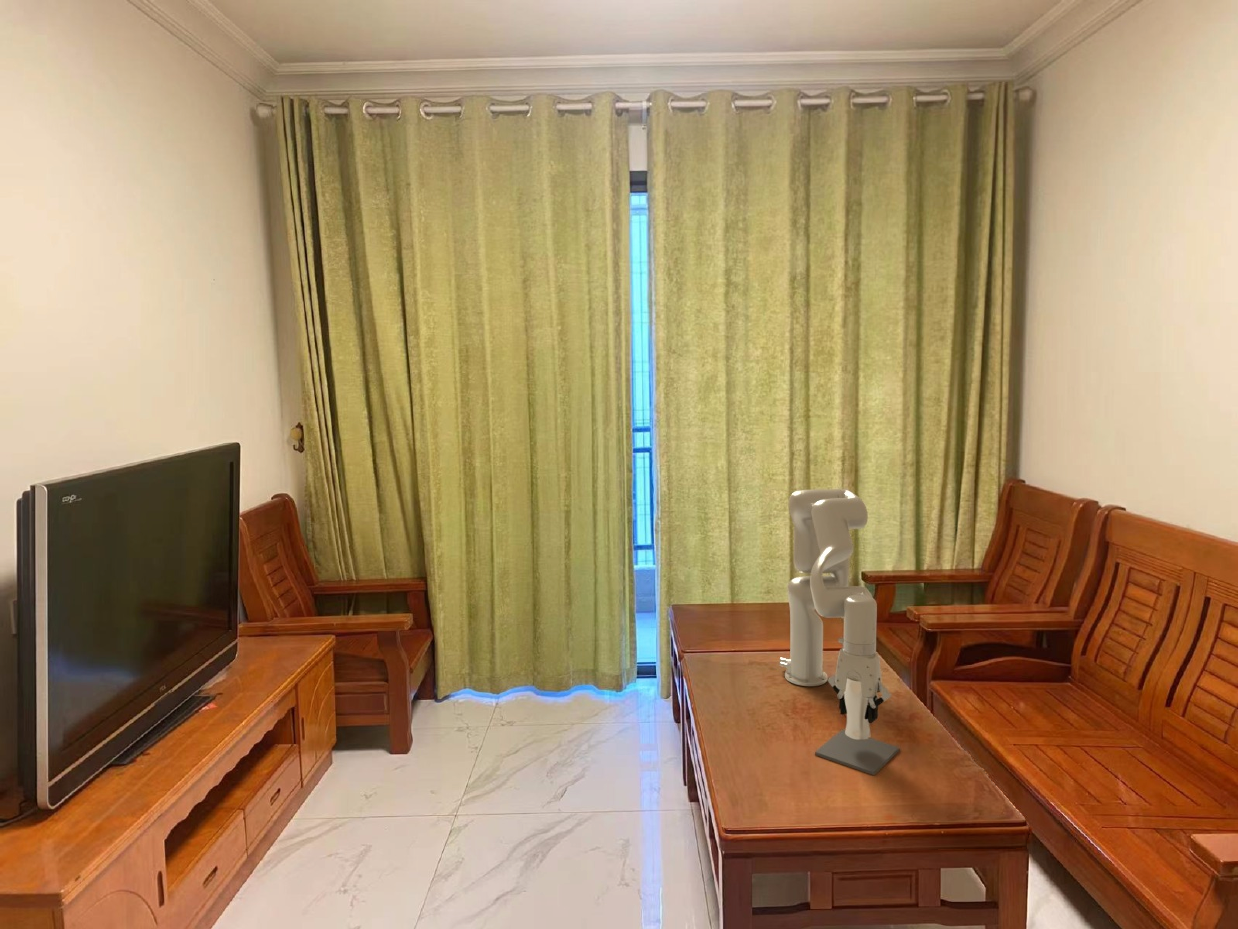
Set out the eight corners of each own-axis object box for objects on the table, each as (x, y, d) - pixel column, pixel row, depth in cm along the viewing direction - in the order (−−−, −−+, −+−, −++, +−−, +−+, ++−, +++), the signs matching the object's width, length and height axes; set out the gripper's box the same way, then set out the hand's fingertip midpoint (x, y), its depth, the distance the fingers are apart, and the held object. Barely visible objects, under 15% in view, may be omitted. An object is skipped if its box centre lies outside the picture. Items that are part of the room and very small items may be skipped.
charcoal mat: (815, 754, 190) (815, 751, 190) (842, 732, 202) (842, 729, 201) (874, 775, 181) (874, 772, 180) (899, 750, 192) (899, 747, 192)
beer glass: (853, 743, 186) (854, 683, 184) (837, 730, 193) (838, 672, 191) (878, 739, 188) (879, 679, 186) (862, 726, 195) (863, 669, 192)
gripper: (819, 643, 190) (818, 712, 193) (888, 660, 179) (886, 733, 181) (833, 634, 196) (832, 702, 198) (901, 650, 184) (899, 721, 187)
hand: (858, 716), depth 190 cm, fingers closed on beer glass, 6 cm apart
